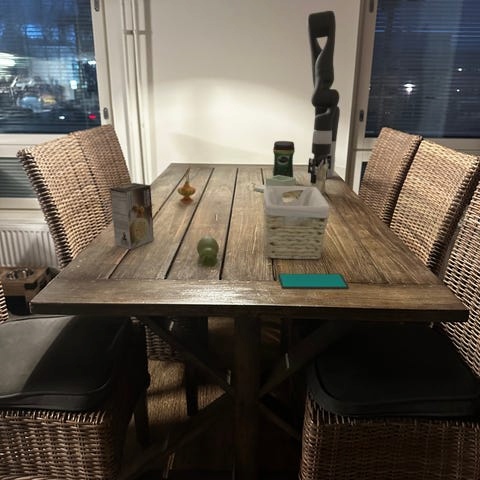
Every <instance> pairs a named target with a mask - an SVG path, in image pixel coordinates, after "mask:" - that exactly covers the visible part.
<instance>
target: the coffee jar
mask: <svg viewBox="0 0 480 480" xmlns="http://www.w3.org/2000/svg"><path fill="white" fill-rule="evenodd" d="M272 151H273V152H272V153H273V154H274V155H273V156H274V157H273V158H274V159H273V166H272V167H273V168H272V176H271V177H273V176H277V175H281V176H287V177H292V178H294V168H293V167H294V164H293V163H294V160H293V159H294V153H295V151H296V150H295V143H294V141H288V140H277V141H274V144H273V149H272Z"/></svg>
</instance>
